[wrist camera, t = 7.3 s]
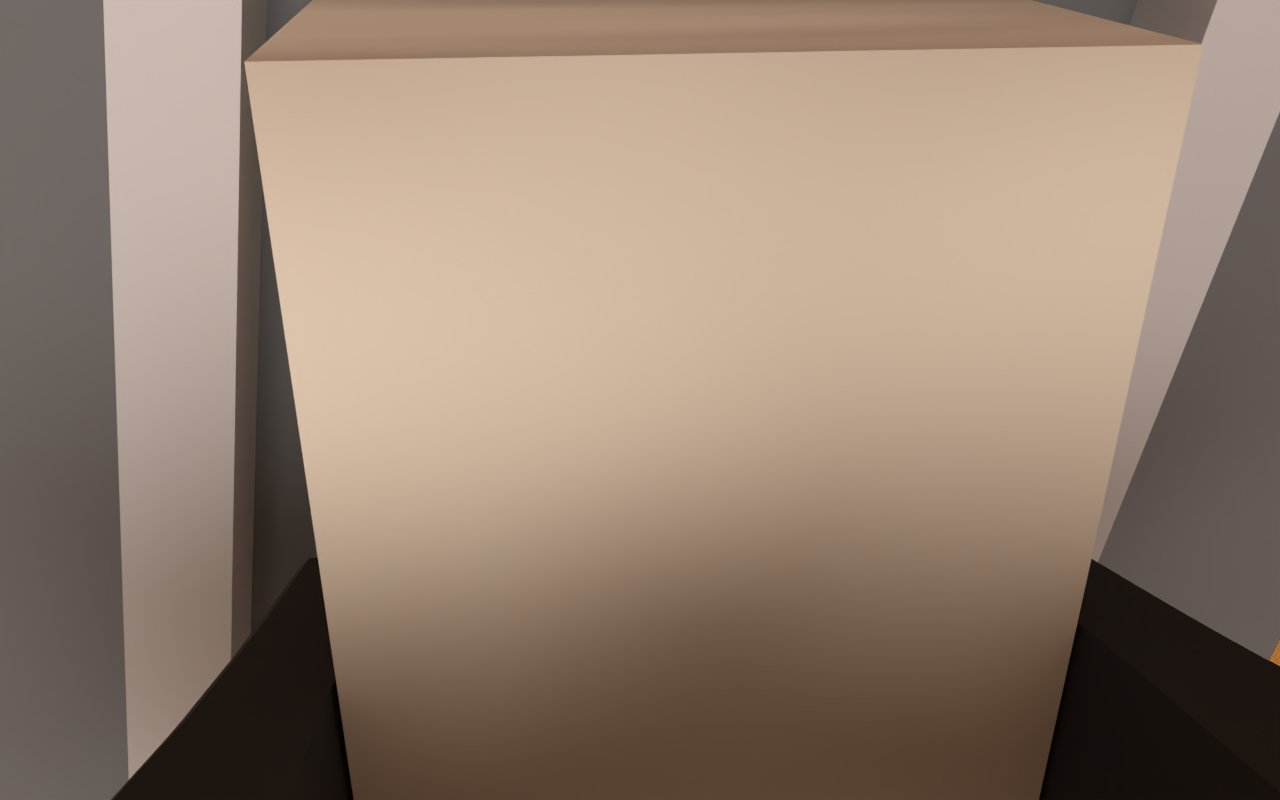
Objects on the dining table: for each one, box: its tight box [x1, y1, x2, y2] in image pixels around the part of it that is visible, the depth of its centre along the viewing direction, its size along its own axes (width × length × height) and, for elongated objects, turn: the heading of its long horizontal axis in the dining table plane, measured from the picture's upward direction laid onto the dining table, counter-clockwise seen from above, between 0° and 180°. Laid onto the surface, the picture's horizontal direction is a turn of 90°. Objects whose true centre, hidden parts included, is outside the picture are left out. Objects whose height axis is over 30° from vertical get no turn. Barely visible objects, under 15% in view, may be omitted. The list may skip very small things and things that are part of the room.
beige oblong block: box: [244, 0, 1203, 800], centre depth 9 cm, size 10×5×4 cm, turn 0°
